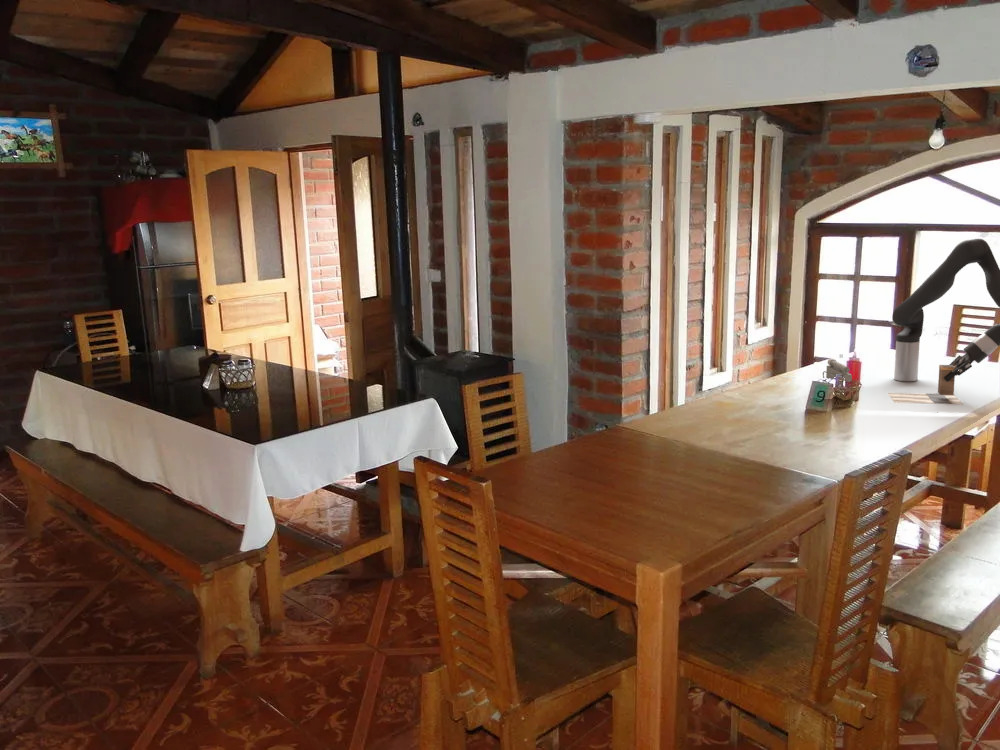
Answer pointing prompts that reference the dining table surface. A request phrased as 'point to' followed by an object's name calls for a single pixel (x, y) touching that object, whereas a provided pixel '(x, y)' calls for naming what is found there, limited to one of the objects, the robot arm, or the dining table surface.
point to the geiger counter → (837, 370)
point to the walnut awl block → (943, 385)
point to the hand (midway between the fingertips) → (944, 378)
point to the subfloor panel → (924, 398)
